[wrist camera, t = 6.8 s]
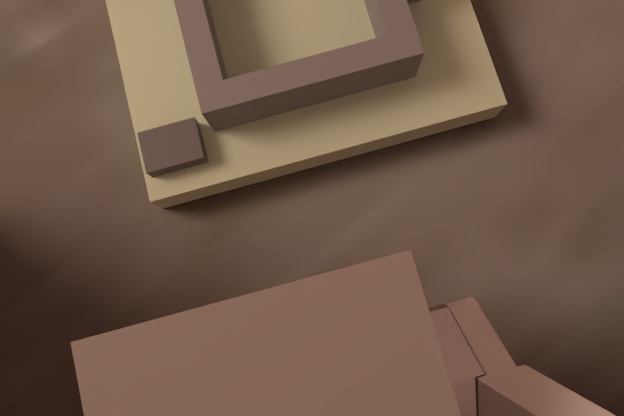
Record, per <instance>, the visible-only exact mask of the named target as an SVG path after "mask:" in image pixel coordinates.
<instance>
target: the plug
mask: <svg viewBox="0 0 624 416" xmlns="http://www.w3.org/2000/svg"><path fill="white" fill-rule="evenodd" d="M71 348H72V353H73V359H74V364H75V370H76V375H77V381H78V386H79V391H80V397H81V402H82V408H83V413H84V416H461V414H460V411H459V407H458V404H457V401H456V397H455V394H454V391H453V387H452V384H451V381H450V378H449V374H448V371H447V368H446V364H445V361H444V358H443V354H442V351H441V348H440V344H439V341H438V338H437V335H436V331H435V328H434V325H433V321H432V318H431V315H430V311H429V308H428V305H427V302H426V298H425V295H424V292H423V288H422V285H421V282H420V278H419V275H418V272H417V268H416V265H415V262H414V259H413V255H412V252H411V250H407V251H404V252H400V253H396V254H393V255H389V256H385V257H382V258H378V259H374V260H371V261H367V262H363V263H360V264H356V265H352V266H349V267H345V268H341V269H338V270H334V271H330V272H327V273H323V274H319V275H316V276H312V277H308V278H305V279H301V280H297V281H293V282H290V283H286V284H282V285H279V286H275V287H271V288H268V289H264V290H260V291H257V292H253V293H249V294H246V295H242V296H238V297H235V298H231V299H227V300H224V301H220V302H216V303H213V304H209V305H205V306H202V307H198V308H194V309H191V310H187V311H183V312H180V313H176V314H172V315H169V316H165V317H161V318H157V319H154V320H150V321H146V322H143V323H139V324H135V325H132V326H128V327H124V328H121V329H117V330H113V331H110V332H106V333H102V334H99V335H95V336H91V337H88V338H84V339H80V340H77V341H73V342H71Z"/></svg>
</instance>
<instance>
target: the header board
mask: <svg viewBox="0 0 624 416" xmlns="http://www.w3.org/2000/svg"><path fill="white" fill-rule="evenodd" d="M106 4H107V9H108V13H109V18H110V22H111V27H112V31H113V36H114V41H115V45H116V50H117V54H118V59H119V63H120V68H121V72H122V77H123V81H124V86H125V91H126V95H127V100H128V104H129V109H130V113H131V118H132V122H133V127H134V132H135V136H136V141H137V145H138V150H139V154H140V159H141V163H142V168H143V172H144V177H145V182H146V186H147V191H148V195H149V200H150V202H151V203H153V204H155V205H157V206H159V207H161V208H167V207H171V206H174V205H178V204H182V203H185V202H189V201H192V200H196V199H200V198H203V197H207V196H211V195H214V194H218V193H222V192H225V191H229V190H233V189H236V188H240V187H243V186H247V185H251V184H254V183H258V182H262V181H265V180H269V179H273V178H276V177H280V176H283V175H287V174H291V173H294V172H298V171H302V170H305V169H309V168H313V167H316V166H320V165H323V164H327V163H331V162H334V161H338V160H342V159H345V158H349V157H353V156H356V155H360V154H364V153H367V152H371V151H374V150H378V149H382V148H385V147H389V146H393V145H396V144H400V143H404V142H407V141H411V140H414V139H418V138H422V137H425V136H429V135H433V134H436V133H440V132H444V131H447V130H451V129H454V128H458V127H462V126H465V125H469V124H473V123H476V122H480V121H484V120H487V119H491V118H494V117H496V116H497V115H498V114H499V113H500V111H501V110H502V109H503V108H504V107H505V106H506V105H507V101H506V98H505V96H504V93H503V90H502V87H501V84H500V82H499V79H498V76H497V73H496V71H495V68H494V65H493V62H492V59H491V57H490V54H489V51H488V48H487V45H486V43H485V40H484V37H483V34H482V31H481V29H480V26H479V23H478V20H477V17H476V15H475V12H474V9H473V6H472V4H471V1H470V0H106Z"/></svg>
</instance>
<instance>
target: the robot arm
mask: <svg viewBox="0 0 624 416" xmlns="http://www.w3.org/2000/svg"><path fill="white" fill-rule="evenodd" d="M429 311H430V315H431V318H432V321H433V325H434V328H435V331H436V335H437V338H438V341H439V344H440V348H441V351H442V354H443V358H444V361H445V364H446V368H447V371H448V374H449V378H450V381H451V384H452V387H453V391H454V394H455V397H456V401H457V404H458V407H459V411H460V414H461V416H616V415H614V414H612V413H611V412H609V411H607V410H605V409H603V408H602V407H600V406H598V405H596V404H595V403H593V402H591V401H589V400H587V399H586V398H584V397H582V396H580V395H579V394H577V393H575V392H573V391H571V390H570V389H568V388H566V387H564V386H562V385H561V384H559V383H557V382H555V381H554V380H552V379H550V378H548V377H546V376H545V375H543V374H541V373H539V372H538V371H536V370H534V369H532V368H530V367H529V366H527V365H522V366H516V364H515V362H514V361H513V359H512V358H511V356H510V354H509V353H508V351H507V350H506V348H505V346H504V345H503V343H502V341H501V340H500V338H499V337H498V335H497V333H496V332H495V330H494V328H493V327H492V325H491V324H490V322H489V320H488V319H487V317H486V316H485V314H484V312H483V311H482V309H481V307H480V306H479V304H478V303H477V301H476V300H475V299H474V298H472V297H469V298H466V299H462V300H458V301H455V302H451V303H447V304H445V305H444V304H442V305H439V306H435V307H432V308H429Z"/></svg>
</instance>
